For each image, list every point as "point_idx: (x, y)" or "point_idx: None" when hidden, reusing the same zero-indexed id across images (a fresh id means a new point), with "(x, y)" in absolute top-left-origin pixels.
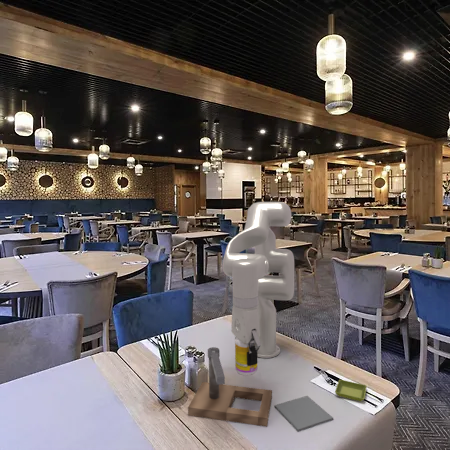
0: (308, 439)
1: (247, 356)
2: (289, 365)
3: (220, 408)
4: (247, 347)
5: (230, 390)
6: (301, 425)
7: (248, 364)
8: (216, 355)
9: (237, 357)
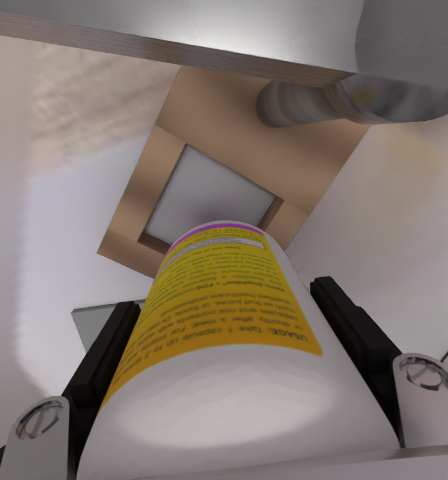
0: (41, 320)
1: (88, 354)
2: None
3: (185, 107)
4: (57, 452)
5: (289, 184)
6: (85, 327)
7: (116, 311)
8: (260, 23)
9: (196, 265)
